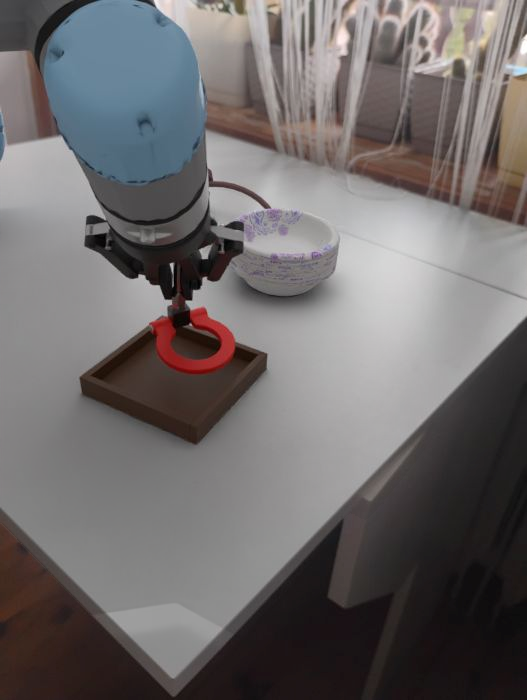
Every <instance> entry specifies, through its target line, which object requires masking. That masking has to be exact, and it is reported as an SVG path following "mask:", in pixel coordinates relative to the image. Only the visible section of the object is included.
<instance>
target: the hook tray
mask: <svg viewBox="0 0 527 700" xmlns="http://www.w3.org/2000/svg"><path fill="white" fill-rule="evenodd" d="M166 317H167V315H162V314H161V315H160V316H159V317H157V318H156V319H155V320H154V321H156V320H159V319H163V318H166ZM175 330H176V336H175V337H174V338H173V340H172V342H171V347H172V349H173V350H174V352H175V353H176V354H178V355H179V356H181V357H183V358H185V359H190V360H203V359H207V358H210V357H212V356H213V355H215V354H216V353H217V352H218V351H219V350H220V348H221V343H220V341H219V339H218V338H217V337H216V336H215V335H213V334H212V333H210V332H208V331H204V330H200V329H194V327H193V326H192V324H189V325H186V326H183V327H180V328H177V329H175ZM156 341H157V335H156V334H152V333H151V331H150V328H149V324H148V325H147V326H146V327H144V328H143V329H142V330H140V331H138V332H137V333H136V334H135V335H133V336H131V338H129V339H128V340H126V341H125V342H124V343H122V344H121V345H120V346H119V347H118V348H116V349H115V350H113V351H111V353H110V354H108V355H107V356H105V357H104V358H102V359H101V360H100V361H98V362H97V363H96V364H94V365H93V366H92V367H91V368H89V369H88V370H86V371H85V372H83V374H81V375H80V376H79V383H80V384H79V385H80V392H81V394H82V395H83V396H86V397H88V398H90V399H93V400H95V401H97V402H99V403H102V404H104V405H106V406H109V407H110V408H113V409H116V410H118V411H120V412H121V413H124V414H127V415H128V416H131V417H133V418H136V419H137V420H140V421H142V422H145V423H147V424H149V425H151V426H152V427H153V426H154V427H156V428H158V429H160V430H162V431H165V432H167V433H169V434H171V435H174V436H175V437H179V438H181V439H183V440H185V441H187V442H190V443H192V444H194V445H198V444H199V442H200V441H201V440H202V439H204V437H205V436H206V435H207V434H208V433H209V432H210V431H211V430H212V429H213V428H214V426H215V425H216V424H218V422H219V421H220V420H221V419H222V418H223V417H224V416H225V415H226V414H227V413H228V411H229V410H230V409H231V408H232V407H233V406H234V405H235V404H236V403H237V402H238V401H239V399H240V398H242V397H243V395H244V394H245V393H246V392H247V391H248V390H249V389H250V388H251V387H252V386H253V384H254V383H255V382H257V380H258V379H259V378H260V377H261V376H262V375H263V374H264V373H265V371H267V367H268V353H267V352H264V351H262V350H260V349H257V348H254V347H251V346H248V345H246V344H243V343H240V342H237V341H235V352H234V355H233V358H232V359H231V360H230V361H229V363H228V364H227V365H225V366H224V367H222V368H221V369H219V370H216V371H214V372H211V373H206V374H187V373H182V372H178V371H176V370H174V369H172V368H170V367H169V366H167V365H166V364H165V363H163V361H162V360H161V359H160V357H159V356H158V353H157V349H156Z"/></svg>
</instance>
